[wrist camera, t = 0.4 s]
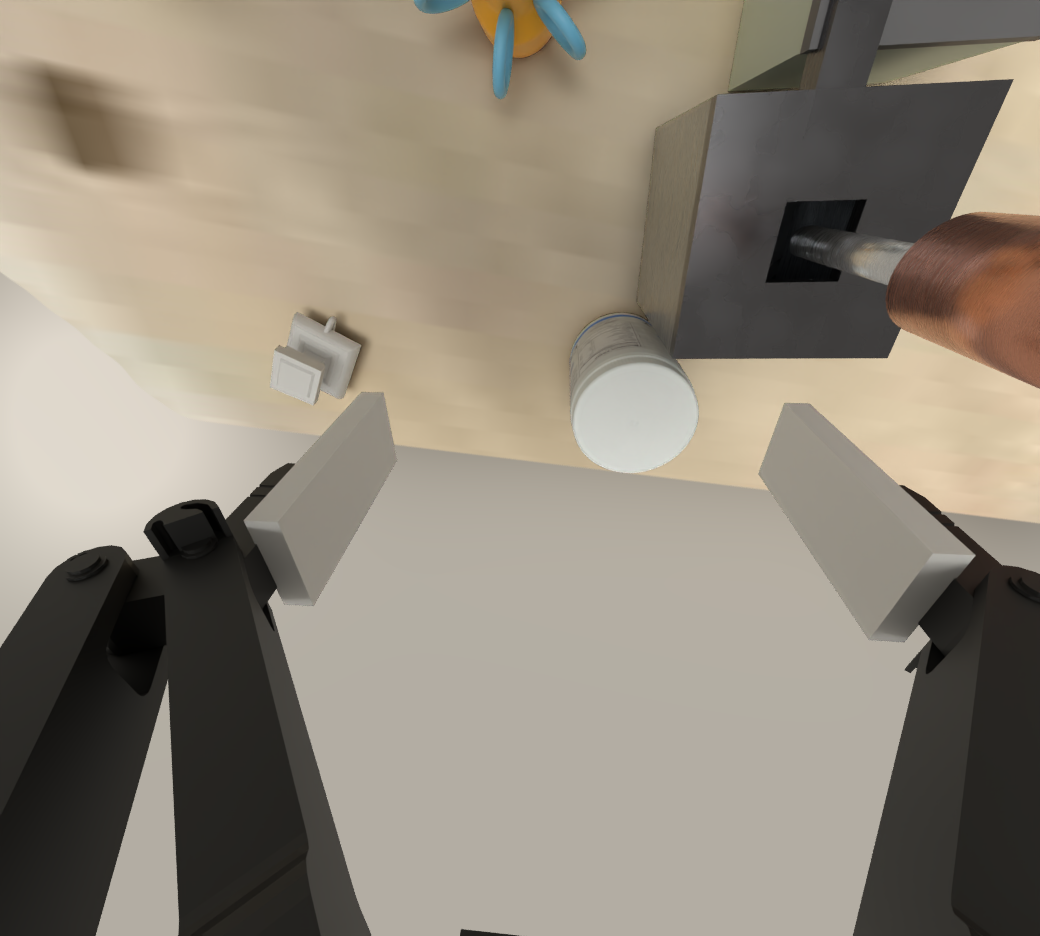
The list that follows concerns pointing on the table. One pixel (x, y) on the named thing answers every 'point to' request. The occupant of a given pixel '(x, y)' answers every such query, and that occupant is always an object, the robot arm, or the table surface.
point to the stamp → (314, 361)
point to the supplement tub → (629, 396)
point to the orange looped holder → (517, 30)
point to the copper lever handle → (953, 284)
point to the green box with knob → (903, 46)
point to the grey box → (801, 199)
